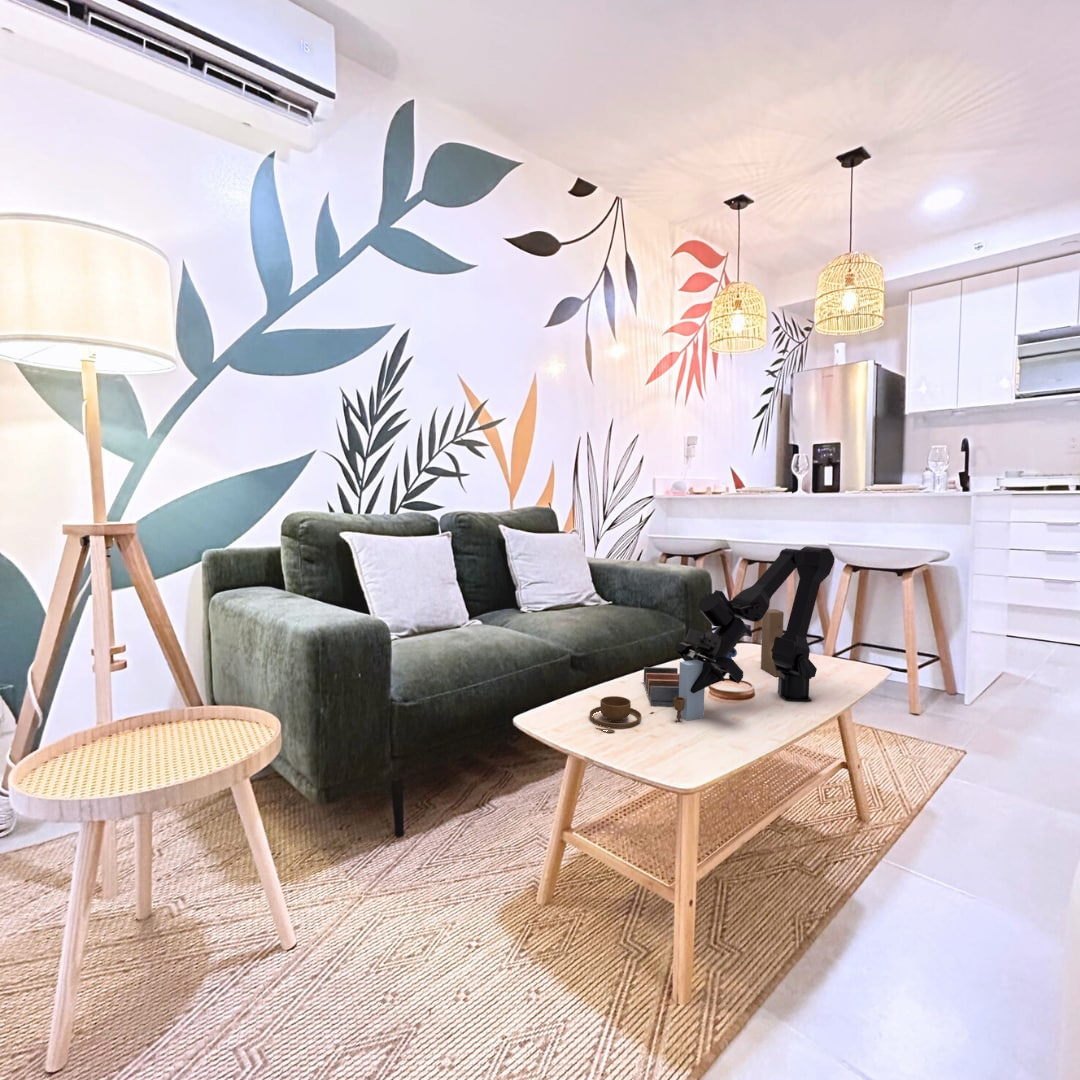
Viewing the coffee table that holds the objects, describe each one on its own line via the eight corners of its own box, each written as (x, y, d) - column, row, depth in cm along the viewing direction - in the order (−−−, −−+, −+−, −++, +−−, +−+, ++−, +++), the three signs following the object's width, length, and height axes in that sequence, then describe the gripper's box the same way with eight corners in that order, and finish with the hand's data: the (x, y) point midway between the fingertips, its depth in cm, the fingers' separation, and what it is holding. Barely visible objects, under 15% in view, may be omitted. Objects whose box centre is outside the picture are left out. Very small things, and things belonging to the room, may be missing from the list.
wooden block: (790, 676, 173) (792, 614, 172) (775, 677, 172) (777, 615, 171) (774, 667, 182) (776, 608, 181) (760, 668, 181) (762, 609, 180)
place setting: (610, 705, 151) (610, 682, 150) (687, 722, 139) (688, 697, 139) (574, 727, 136) (574, 701, 136) (656, 748, 125) (657, 720, 125)
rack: (676, 683, 167) (676, 667, 166) (688, 707, 148) (688, 689, 148) (643, 682, 167) (643, 666, 167) (651, 706, 149) (651, 688, 148)
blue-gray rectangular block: (695, 712, 144) (696, 659, 143) (703, 717, 141) (705, 662, 140) (678, 716, 142) (679, 661, 141) (686, 720, 139) (688, 665, 138)
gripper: (681, 610, 150) (643, 658, 146) (735, 624, 133) (693, 680, 129) (705, 638, 154) (669, 686, 150) (760, 656, 137) (721, 710, 133)
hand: (686, 689), depth 140 cm, fingers closed on blue-gray rectangular block, 3 cm apart
